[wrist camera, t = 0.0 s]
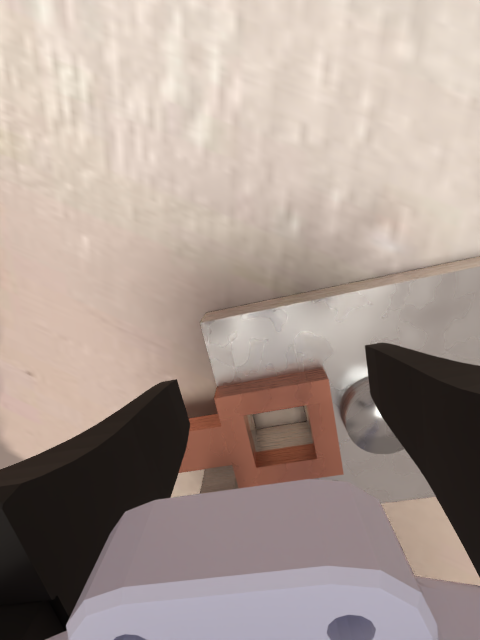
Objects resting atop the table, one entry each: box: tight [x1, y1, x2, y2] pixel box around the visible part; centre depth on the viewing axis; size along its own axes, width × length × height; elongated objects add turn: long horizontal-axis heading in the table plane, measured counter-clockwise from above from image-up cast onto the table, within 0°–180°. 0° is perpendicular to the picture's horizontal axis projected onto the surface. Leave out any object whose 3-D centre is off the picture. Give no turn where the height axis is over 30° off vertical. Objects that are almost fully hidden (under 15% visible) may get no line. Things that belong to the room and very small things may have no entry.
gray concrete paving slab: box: [179, 256, 480, 503], centre depth 21 cm, size 16×25×4 cm, turn 103°
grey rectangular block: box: [200, 465, 239, 494], centre depth 21 cm, size 3×3×9 cm
